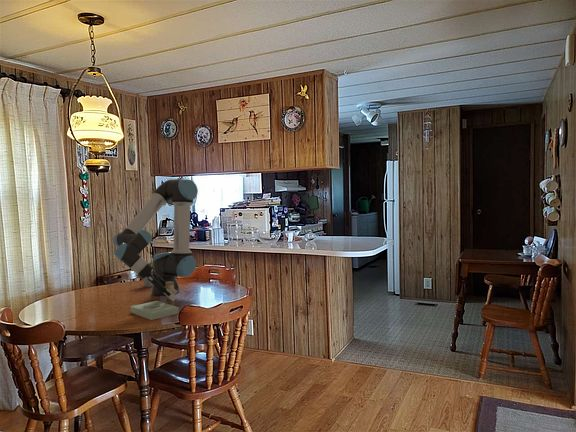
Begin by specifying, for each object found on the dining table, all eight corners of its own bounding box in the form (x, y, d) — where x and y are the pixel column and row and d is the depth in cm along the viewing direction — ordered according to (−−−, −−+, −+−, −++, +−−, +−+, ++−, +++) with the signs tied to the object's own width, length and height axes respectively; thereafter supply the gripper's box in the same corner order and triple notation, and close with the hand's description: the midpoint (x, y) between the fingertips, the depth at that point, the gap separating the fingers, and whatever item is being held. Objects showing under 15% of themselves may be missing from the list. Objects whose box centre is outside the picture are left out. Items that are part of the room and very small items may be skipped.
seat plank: (130, 312, 211) (130, 306, 211) (157, 306, 221) (157, 300, 221) (151, 320, 197) (150, 313, 197) (178, 313, 207) (178, 307, 207)
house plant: (159, 282, 285) (158, 257, 284) (165, 285, 273) (164, 259, 272) (136, 285, 278) (135, 259, 277) (141, 288, 266) (140, 261, 265)
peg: (164, 306, 222) (163, 282, 221) (172, 304, 225) (171, 281, 224) (169, 307, 219) (168, 283, 218) (176, 305, 222) (175, 282, 221)
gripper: (139, 270, 229) (171, 296, 233) (134, 278, 206) (169, 307, 210) (149, 259, 230) (181, 286, 234) (145, 266, 207) (180, 295, 211)
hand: (175, 296), depth 222 cm, fingers open, 12 cm apart
